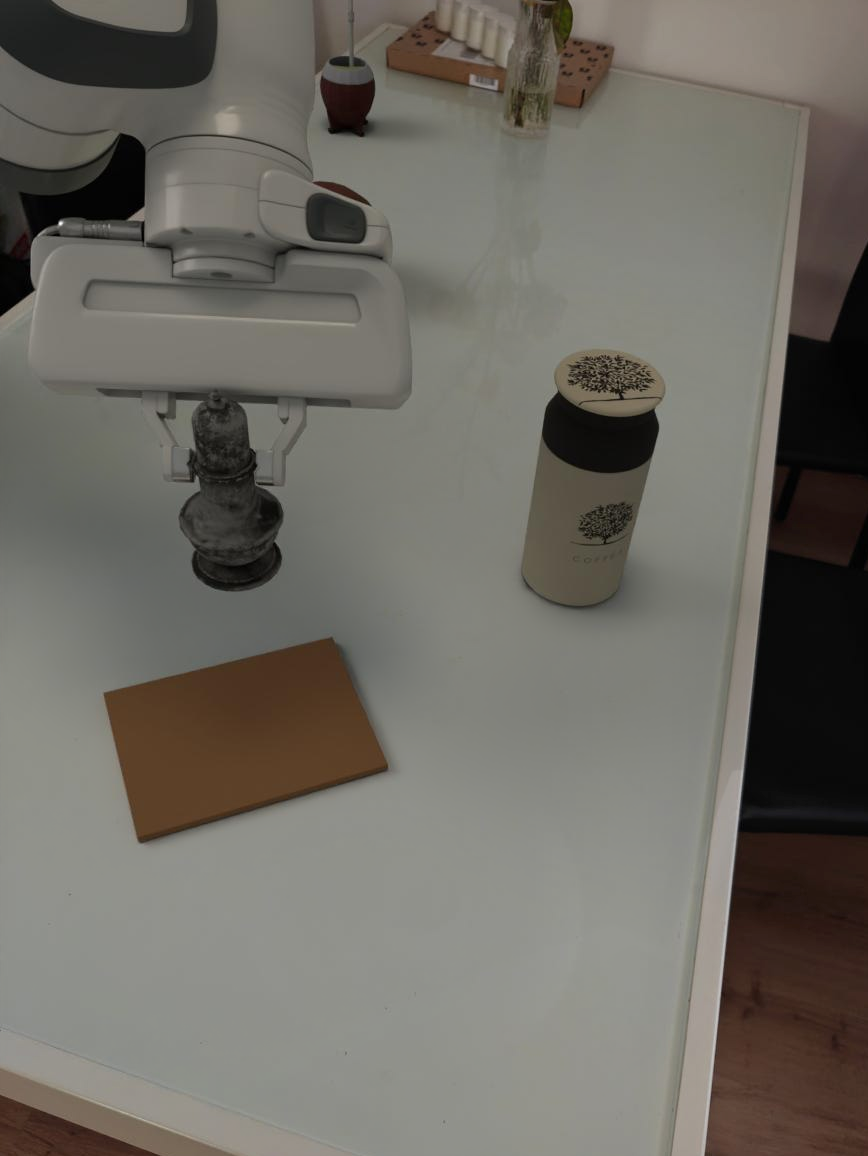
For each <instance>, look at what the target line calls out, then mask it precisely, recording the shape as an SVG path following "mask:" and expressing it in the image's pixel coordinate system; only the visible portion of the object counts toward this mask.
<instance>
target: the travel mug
mask: <svg viewBox="0 0 868 1156" xmlns="http://www.w3.org/2000/svg"><path fill="white" fill-rule="evenodd" d="M553 379H554V385H555V386H556V388H557V392H556V393H555V395H554V396H553V397H552V398H551V399H549V401H548V403H547V405H546V406H545V410H544V415H543V421H542V428H541V434H540V440H539V448H538V454H537V459H536V460H537V461H536V467H535V474H534V479H533V487H532V494H531V500H530V505H529V513H528V519H527V524H526V532H525V539H524V544H523V545H524V546H523V551H522V557H521V567H520V568H521V573H522V576H523V578H524V581H526V583H527V584H528V586H529V587H530V588H531V589H532V590H533V591H535V592H536V593H537V594H538V595H540V596H541V597H543V598H545V599H547V600H549V601H551V602H554V603H556V604H561V605H566V606H573V607H584V606H591V605H595V604H598V603H602V602H604V601H606V600H607V599H609V598H610V597H612V596H613V595H614V594H615V593H616V592H617V590H618V589H619V587H620V584H621V581H622V577H623V574H624V571H625V565H626V562H627V557H628V554H629V550H630V546H631V543H632V538H633V535H634V531H635V526H636V522H637V519H638V514H639V511H640V508H641V504H642V499H643V495H644V491H645V487H646V484H647V480H648V476H649V473H650V468H651V464H652V460H653V456H654V452H655V448H656V444H657V440H658V437H659V432H660V422H659V419H658V416H657V414H656V408H657V407H658V406H659V405H660V404H661V402H662V401H663V400H664V397H665V396H666V382H665V380H664V378H663V376H662V374H661V373H660V372H659V371H658V370H657V369H656V368H655V367H654V366H653V365H651V364H650V363H649V362H647V361H646V360H644V359H642V358H640V357H638V356H636V355H633V354H631V353H628V352H624V351H620V350H614V349H606V348H593V349H591V348H590V349H585V350H580V351H576V352H574V353H571V354H569V355H567V356H566V357H564V358H563V359H561V360H560V362H559V363H558V364H557V365H556V367H555V370H554V374H553Z"/></svg>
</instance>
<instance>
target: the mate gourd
mask: <svg viewBox="0 0 868 1156" xmlns="http://www.w3.org/2000/svg"><path fill="white" fill-rule="evenodd" d="M347 22H348V51H349V54H348V55H337V56H333V57H331V58H328V59H327V61H326V62H325V64H324V66H323V68H322V70H321V73H320V74H321V76H320V81H319V89H320V96H321V99H322V102H323V105H324V108H325V109H326V116H327V120H328V123H329V127H328V128H327V132H328V133H329V134H337V133H340V132H344V131H345V132H346V131H349V132H350V133H352V134H354V135H356V136H357V137H360V138H362V137H365V135H366V132H365V131H364V129H363V128H364V126H367V125H369V120H368V119H367V117H368V115H369V113H370V112H371V110H372V107H373V104H374V101H375V96H376V81H375V74H374V72H373V70H372V68H371V66H370V65H369V63H368V62H367V61H366V60H365V59H363V58H361V57H358V56H355V49H354V47H355V44H354V43H355V40H354V22H355V12H354V0H348V12H347Z"/></svg>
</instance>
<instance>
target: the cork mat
mask: <svg viewBox="0 0 868 1156" xmlns="http://www.w3.org/2000/svg"><path fill="white" fill-rule="evenodd" d="M103 699H104V702H105V706H106V711H107V715H108V719H109V724H110V726H111V732H112V736H113V741H114V744H115V749H116V754H117V758H118V763H119V766H120V770H121V774H122V779H123V783H124V787H125V792H126V796H127V800H128V801H127V802H128V804H129V807H130V808H129V809H130V813H131V817H132V821H133V825H134V830H135V834H136V838H137V842H138V843H143V842H145V841H149V840H152V839H156V838H159V837H164V836H166V835H169V834H172V833H177V832H180V831H184V830H186V829H187V830H188V829H190V828H193V827H197V826H200V825H204V824H207V823H211V822H214V821H217V820H221V819H223V818H227V817H230V816H231V817H232V816H234V815H235V816H236V815H238V814H242V813H244V812H248V811H251V810H255V809H258V808H261V807H265V806H268V805H272V804H275V803H279V802H282V801H286V800H289V799H292V798H296V797H298V796H302V795H306V794H310V793H313V792H316V791H319V790H323V789H326V787H327V788H330V787H334V786H337V785H339V784H343V783H347V782H351V781H353V780H357V779H360V778H364V777H367V776H371V775H375V774H378V773H381V772H384V771H387V770H388V769H389V764H388V761H387V759H386V757H385V754H384V751H383V750H382V747H381V745H380V743H379V741H378V739H377V736H376V733H375V731H374V730H373V727H372V725H371V722H370V720H369V717H368V715H367V713H366V710H365V709H364V707H363V703H362V701H361V699H360V697H359V695H358V692H357V690H356V688H355V686H354V683H353V681H352V679H351V677H350V674H349V672H348V669H347V667H346V665H345V662H344V661H343V658H342V656H341V653H340V651H339V649H338V647H337V645H336V643H335V640H334V638H333V636H329V637H326V638H321V639H317V640H314V641H310V642H305V643H301V644H297V645H293V646H289V647H285V648H281V649H277V650H272V651H269V652H265V653H260V654H255V655H252V656H247V657H244V658H240V659H236V660H232V661H227V662H224V663H219V664H215V665H211V666H207V667H202V668H199V669H194V670H190V671H187V672H183V673H178V674H174V675H170V676H167V677H162V678H159V679H154V680H149V681H146V682H142V683H138V684H133V685H130V686H125V687H121V688H117V689H113V690H109V691H106V692H103ZM377 772H378V773H377ZM370 774H371V775H370ZM336 784H337V785H336ZM329 786H330V787H329Z"/></svg>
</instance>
